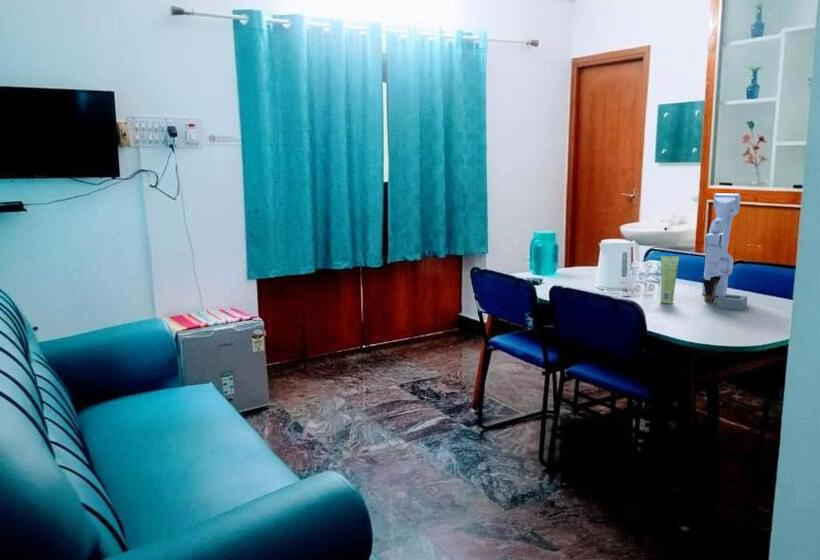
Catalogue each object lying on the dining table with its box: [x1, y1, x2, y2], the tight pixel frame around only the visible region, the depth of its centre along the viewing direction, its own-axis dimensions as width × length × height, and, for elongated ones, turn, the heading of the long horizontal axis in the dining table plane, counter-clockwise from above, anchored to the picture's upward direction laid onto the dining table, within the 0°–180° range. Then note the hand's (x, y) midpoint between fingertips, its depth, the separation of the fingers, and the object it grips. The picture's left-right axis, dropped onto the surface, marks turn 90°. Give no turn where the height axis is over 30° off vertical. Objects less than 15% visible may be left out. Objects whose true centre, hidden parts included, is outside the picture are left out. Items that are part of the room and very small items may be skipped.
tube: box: [659, 255, 680, 305], centre depth 261 cm, size 6×5×20 cm
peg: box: [703, 283, 716, 303], centre depth 263 cm, size 4×4×8 cm
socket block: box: [716, 293, 748, 311], centre depth 254 cm, size 9×9×4 cm
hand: (710, 294), depth 264 cm, fingers closed on peg, 4 cm apart
